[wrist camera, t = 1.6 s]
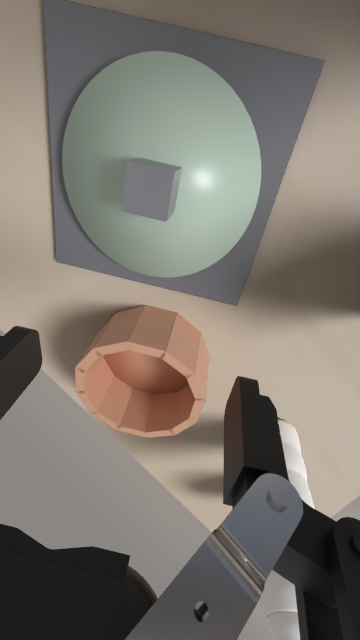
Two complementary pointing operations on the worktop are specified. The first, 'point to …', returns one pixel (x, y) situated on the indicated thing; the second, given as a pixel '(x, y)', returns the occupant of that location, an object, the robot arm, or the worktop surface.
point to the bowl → (145, 373)
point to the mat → (223, 58)
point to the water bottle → (277, 590)
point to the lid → (161, 164)
